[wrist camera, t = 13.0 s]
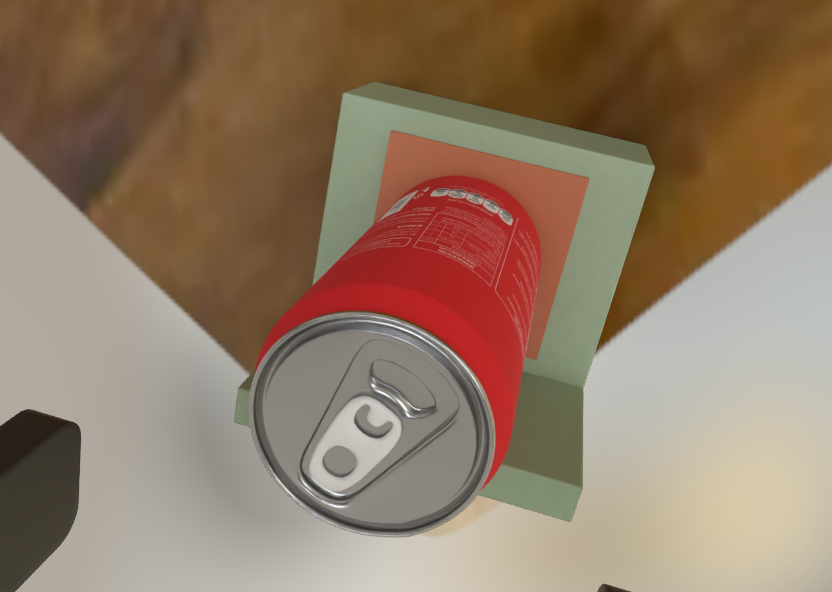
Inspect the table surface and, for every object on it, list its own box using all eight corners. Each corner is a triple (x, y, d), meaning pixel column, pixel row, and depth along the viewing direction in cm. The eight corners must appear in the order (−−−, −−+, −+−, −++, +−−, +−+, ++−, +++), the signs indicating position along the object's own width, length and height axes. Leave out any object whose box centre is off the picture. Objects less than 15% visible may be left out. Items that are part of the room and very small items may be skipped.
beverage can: (577, 236, 24) (569, 424, 13) (477, 349, 26) (399, 594, 15) (447, 134, 24) (329, 240, 13) (357, 257, 26) (188, 438, 15)
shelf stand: (335, 302, 32) (233, 422, 22) (374, 81, 28) (271, 115, 19) (575, 368, 30) (570, 523, 21) (646, 145, 27) (677, 214, 18)
